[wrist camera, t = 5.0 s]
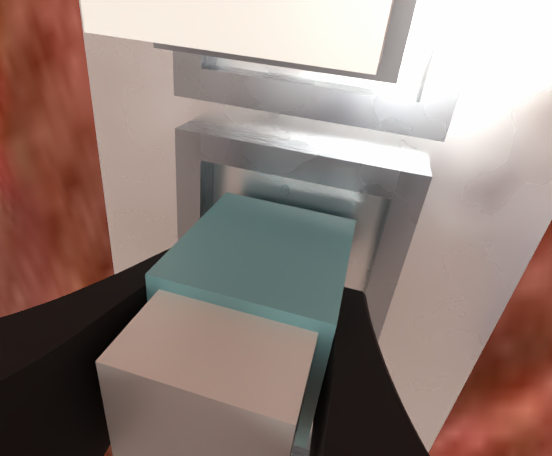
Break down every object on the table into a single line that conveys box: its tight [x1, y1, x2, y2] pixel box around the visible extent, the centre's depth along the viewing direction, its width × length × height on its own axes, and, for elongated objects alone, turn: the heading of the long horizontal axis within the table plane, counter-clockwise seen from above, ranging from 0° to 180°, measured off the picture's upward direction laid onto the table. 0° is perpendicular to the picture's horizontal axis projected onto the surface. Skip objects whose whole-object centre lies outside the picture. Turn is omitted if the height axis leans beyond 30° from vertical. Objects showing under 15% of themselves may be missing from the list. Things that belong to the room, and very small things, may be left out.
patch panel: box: [79, 0, 552, 456], centre depth 13 cm, size 14×24×2 cm, turn 174°
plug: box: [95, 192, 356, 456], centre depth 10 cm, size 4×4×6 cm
